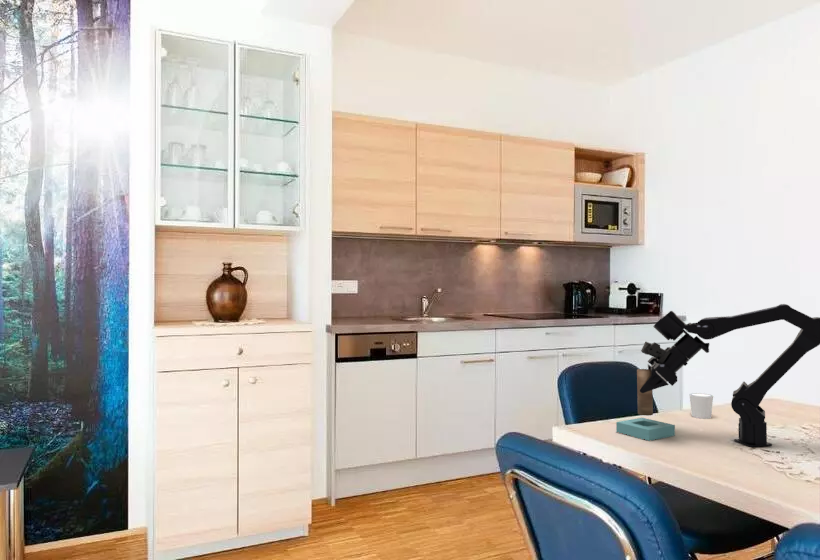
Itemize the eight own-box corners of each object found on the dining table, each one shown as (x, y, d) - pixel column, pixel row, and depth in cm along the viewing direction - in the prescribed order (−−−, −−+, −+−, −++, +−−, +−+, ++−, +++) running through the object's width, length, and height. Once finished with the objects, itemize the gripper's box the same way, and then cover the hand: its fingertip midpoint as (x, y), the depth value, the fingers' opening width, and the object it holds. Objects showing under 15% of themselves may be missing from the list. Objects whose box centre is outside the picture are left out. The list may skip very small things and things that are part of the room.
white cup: (689, 417, 191) (688, 395, 191) (690, 413, 197) (690, 392, 197) (713, 419, 187) (713, 397, 187) (713, 415, 193) (713, 393, 194)
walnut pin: (655, 415, 168) (655, 370, 169) (642, 415, 168) (642, 371, 168) (647, 412, 172) (646, 368, 172) (635, 412, 172) (634, 369, 172)
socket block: (674, 435, 168) (674, 424, 168) (648, 440, 163) (648, 429, 163) (642, 427, 178) (642, 417, 178) (616, 432, 172) (616, 422, 172)
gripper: (655, 329, 178) (616, 365, 181) (663, 334, 160) (620, 374, 163) (684, 356, 176) (644, 392, 179) (696, 364, 158) (651, 405, 161)
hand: (639, 390), depth 170 cm, fingers closed on walnut pin, 4 cm apart
